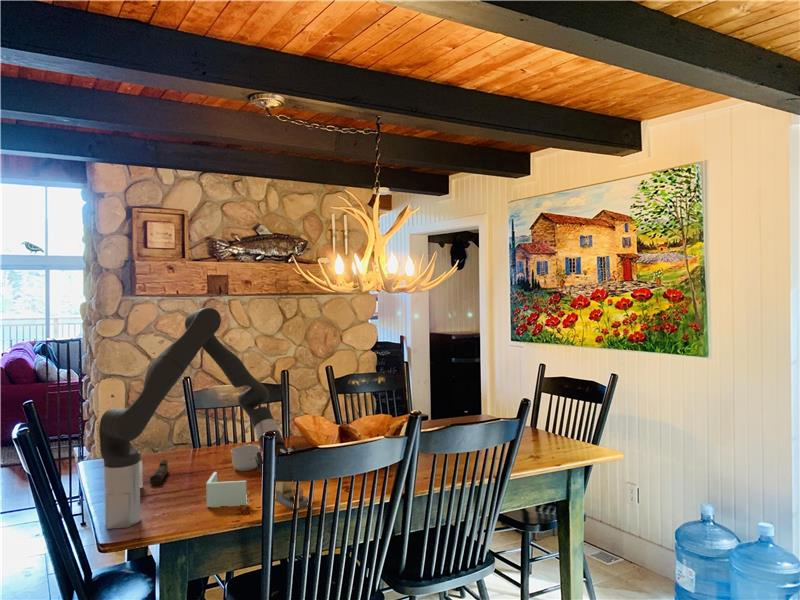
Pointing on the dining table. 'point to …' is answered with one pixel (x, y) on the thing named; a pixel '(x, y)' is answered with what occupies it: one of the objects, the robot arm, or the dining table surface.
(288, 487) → the lever cap
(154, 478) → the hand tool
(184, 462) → the dining table surface
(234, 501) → the right angle wall
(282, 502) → the body
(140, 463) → the jar
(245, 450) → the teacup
